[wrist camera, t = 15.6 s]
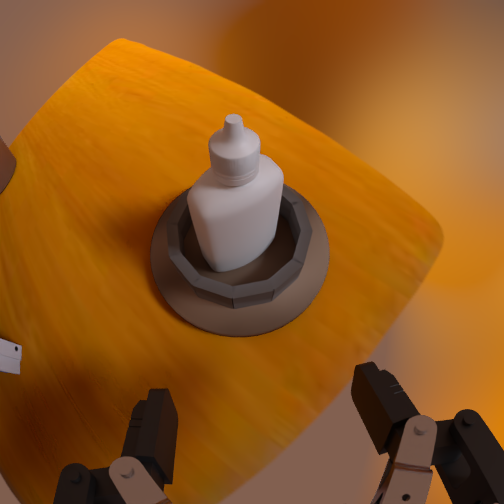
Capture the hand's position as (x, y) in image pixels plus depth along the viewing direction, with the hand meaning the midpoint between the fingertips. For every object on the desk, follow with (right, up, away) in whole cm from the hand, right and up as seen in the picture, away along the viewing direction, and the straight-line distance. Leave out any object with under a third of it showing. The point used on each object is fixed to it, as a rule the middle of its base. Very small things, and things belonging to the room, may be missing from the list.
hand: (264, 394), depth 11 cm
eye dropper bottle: (-2, +6, +11) cm, 13 cm away
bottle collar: (-2, +6, +12) cm, 14 cm away
